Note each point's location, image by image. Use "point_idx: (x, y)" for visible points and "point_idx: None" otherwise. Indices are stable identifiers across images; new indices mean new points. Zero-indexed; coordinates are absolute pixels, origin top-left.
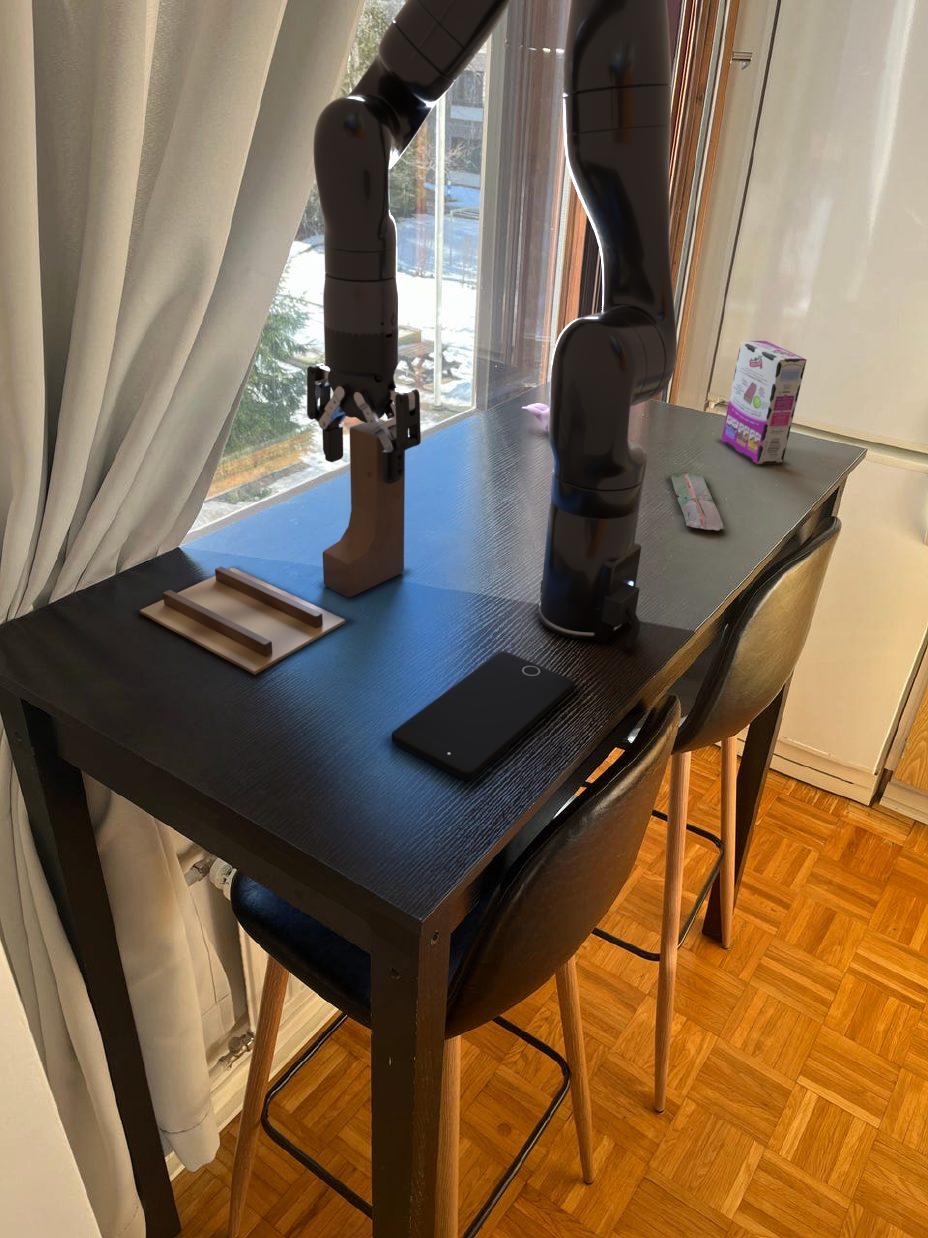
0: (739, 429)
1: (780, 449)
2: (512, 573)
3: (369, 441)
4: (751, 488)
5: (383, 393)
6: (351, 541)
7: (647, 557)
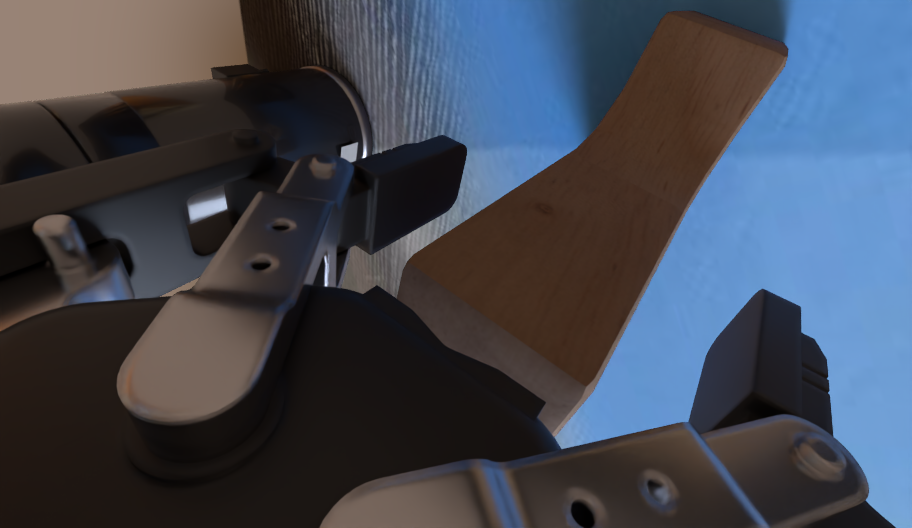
0: None
1: None
2: (438, 228)
3: (464, 267)
4: None
5: (8, 329)
6: (682, 121)
7: None
